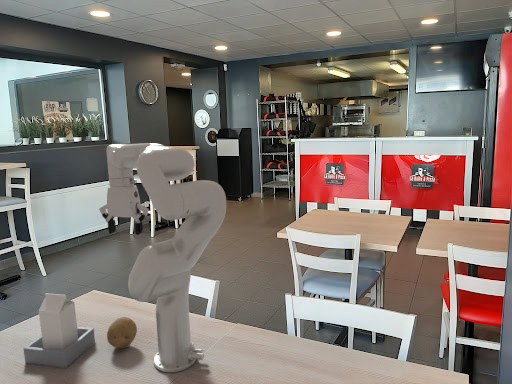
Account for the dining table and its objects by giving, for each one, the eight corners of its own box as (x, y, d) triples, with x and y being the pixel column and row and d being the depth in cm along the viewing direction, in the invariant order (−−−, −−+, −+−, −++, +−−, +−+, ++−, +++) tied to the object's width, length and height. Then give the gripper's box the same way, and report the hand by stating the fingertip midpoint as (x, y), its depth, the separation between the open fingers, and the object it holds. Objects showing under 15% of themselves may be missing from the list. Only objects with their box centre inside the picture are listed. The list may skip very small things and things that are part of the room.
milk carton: (64, 358, 120) (57, 300, 116) (44, 356, 121) (36, 298, 118) (79, 345, 127) (73, 290, 123) (59, 343, 128) (53, 288, 125)
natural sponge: (131, 356, 121) (129, 326, 119) (103, 356, 121) (100, 326, 120) (141, 340, 130) (139, 312, 128) (115, 340, 130) (112, 312, 129)
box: (95, 342, 129) (93, 328, 128) (66, 368, 116) (64, 352, 115) (57, 338, 132) (55, 324, 131) (25, 363, 119) (23, 348, 118)
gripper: (151, 180, 130) (154, 231, 133) (104, 180, 134) (108, 229, 137) (140, 184, 123) (144, 237, 126) (90, 183, 127) (95, 235, 130)
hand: (125, 233), depth 132 cm, fingers open, 9 cm apart
